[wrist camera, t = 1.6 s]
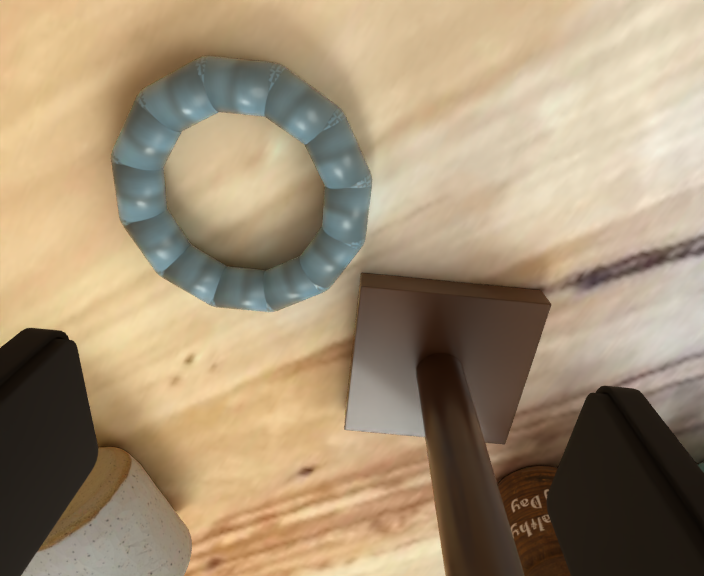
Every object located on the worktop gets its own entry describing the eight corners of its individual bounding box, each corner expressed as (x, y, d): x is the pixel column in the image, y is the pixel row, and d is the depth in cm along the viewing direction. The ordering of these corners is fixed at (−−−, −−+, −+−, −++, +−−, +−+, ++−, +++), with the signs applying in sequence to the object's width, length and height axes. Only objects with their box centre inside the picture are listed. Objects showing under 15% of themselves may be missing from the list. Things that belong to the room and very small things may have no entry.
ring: (141, 286, 24) (123, 306, 22) (110, 43, 19) (84, 44, 17) (357, 307, 24) (356, 328, 22) (383, 72, 19) (385, 75, 17)
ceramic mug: (147, 424, 28) (73, 546, 21) (210, 512, 32) (164, 641, 25) (5, 461, 30) (-103, 583, 23) (79, 539, 34) (4, 665, 27)
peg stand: (345, 411, 27) (325, 737, 14) (360, 272, 23) (353, 555, 10) (498, 425, 28) (614, 761, 15) (541, 289, 23) (755, 590, 10)
